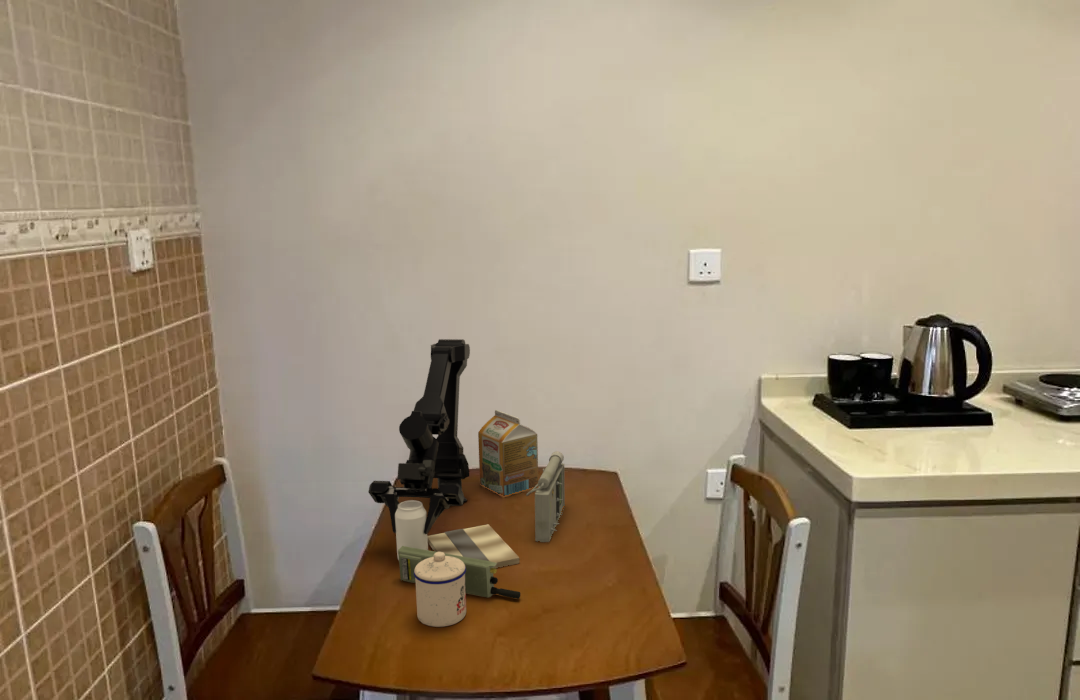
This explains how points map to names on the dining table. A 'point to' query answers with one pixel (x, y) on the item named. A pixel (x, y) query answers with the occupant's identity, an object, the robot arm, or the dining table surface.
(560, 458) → the geiger counter
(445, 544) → the subfloor board
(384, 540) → the dining table surface
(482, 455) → the milk carton
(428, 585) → the teacup with lid
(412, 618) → the dining table surface
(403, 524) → the beverage can
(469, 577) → the handheld radio
